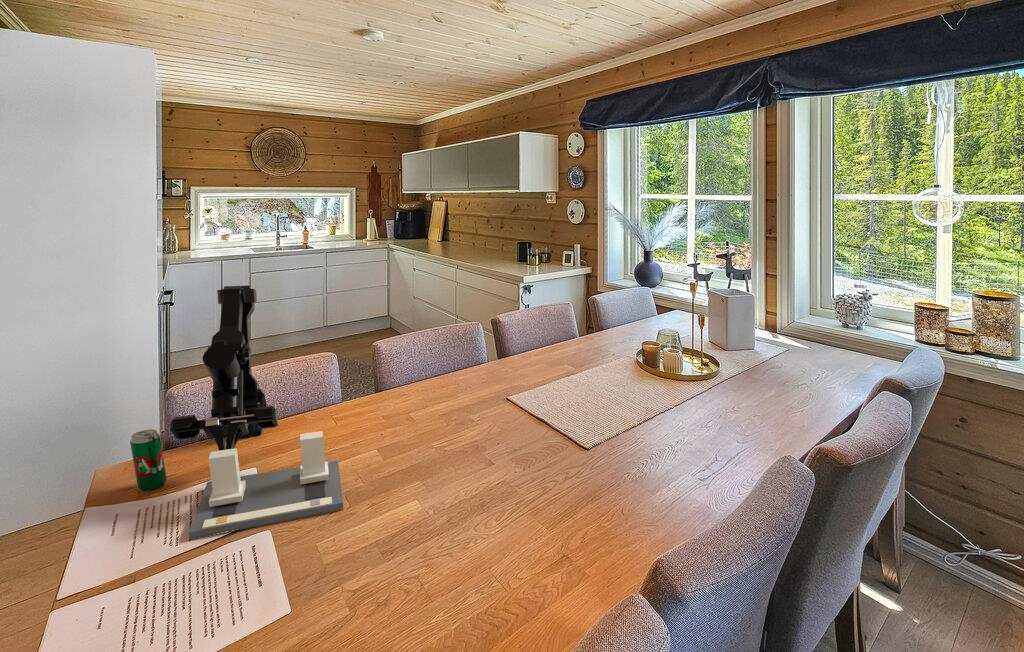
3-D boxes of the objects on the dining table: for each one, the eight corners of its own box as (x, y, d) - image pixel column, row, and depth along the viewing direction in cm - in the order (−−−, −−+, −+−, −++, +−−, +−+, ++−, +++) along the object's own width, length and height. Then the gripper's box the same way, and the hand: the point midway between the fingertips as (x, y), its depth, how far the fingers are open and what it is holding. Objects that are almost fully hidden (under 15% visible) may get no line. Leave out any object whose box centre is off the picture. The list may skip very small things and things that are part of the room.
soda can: (159, 477, 108) (151, 426, 105) (172, 483, 106) (164, 431, 103) (133, 488, 104) (123, 435, 101) (146, 495, 101) (137, 441, 99)
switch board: (208, 488, 104) (207, 480, 104) (338, 466, 114) (337, 459, 113) (190, 539, 88) (188, 530, 88) (343, 509, 98) (342, 501, 97)
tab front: (214, 490, 100) (209, 448, 98) (245, 485, 102) (241, 444, 100) (209, 507, 94) (203, 463, 92) (242, 501, 96) (237, 458, 94)
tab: (300, 470, 108) (297, 431, 106) (328, 466, 110) (325, 427, 108) (300, 484, 102) (296, 443, 100) (329, 479, 104) (326, 439, 102)
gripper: (279, 402, 116) (281, 467, 108) (186, 412, 109) (181, 482, 101) (274, 380, 107) (276, 449, 99) (172, 390, 100) (165, 465, 92)
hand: (225, 462), depth 98 cm, fingers closed, pressing on tab front
